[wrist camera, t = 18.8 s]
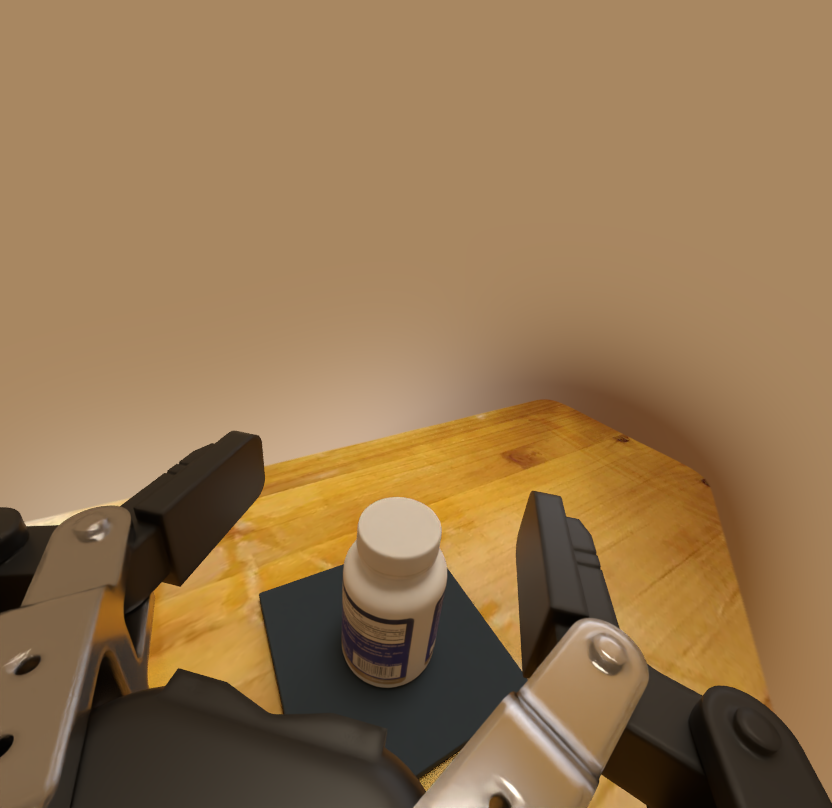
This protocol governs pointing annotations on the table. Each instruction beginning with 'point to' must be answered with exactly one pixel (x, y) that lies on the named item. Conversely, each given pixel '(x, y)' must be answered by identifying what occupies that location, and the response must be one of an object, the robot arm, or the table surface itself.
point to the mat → (398, 706)
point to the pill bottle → (393, 592)
